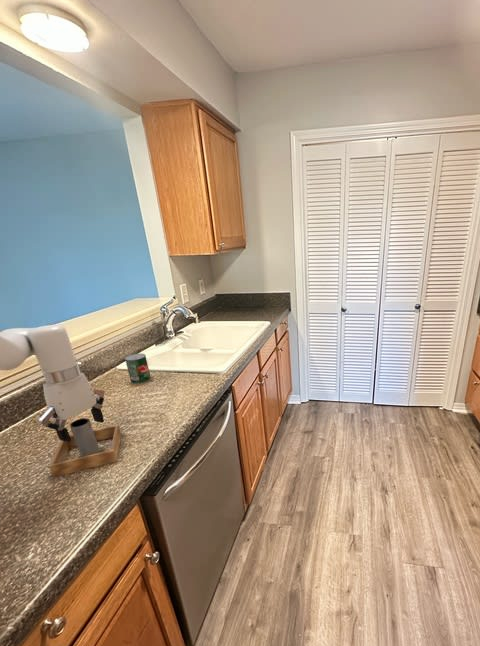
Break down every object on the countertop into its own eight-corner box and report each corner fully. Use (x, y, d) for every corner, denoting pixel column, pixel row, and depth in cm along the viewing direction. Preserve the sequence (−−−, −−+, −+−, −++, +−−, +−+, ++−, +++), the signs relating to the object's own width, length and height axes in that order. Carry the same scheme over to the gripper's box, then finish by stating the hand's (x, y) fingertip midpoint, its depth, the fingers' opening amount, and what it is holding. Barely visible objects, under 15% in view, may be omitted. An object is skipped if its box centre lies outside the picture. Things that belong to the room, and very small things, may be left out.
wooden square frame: (53, 477, 83) (48, 466, 81) (66, 446, 95) (62, 436, 94) (117, 461, 88) (113, 450, 87) (121, 433, 100) (118, 424, 99)
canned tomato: (132, 378, 141) (126, 354, 137) (152, 375, 143) (146, 352, 139) (129, 385, 134) (123, 361, 130) (150, 382, 136) (144, 358, 132)
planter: (95, 457, 90) (84, 425, 86) (78, 459, 89) (66, 427, 85) (102, 447, 94) (92, 417, 90) (85, 449, 93) (74, 419, 89)
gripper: (84, 360, 91) (102, 413, 97) (15, 386, 76) (42, 446, 83) (103, 362, 88) (120, 416, 95) (35, 390, 73) (61, 452, 80)
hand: (83, 430), depth 89 cm, fingers open, 9 cm apart
